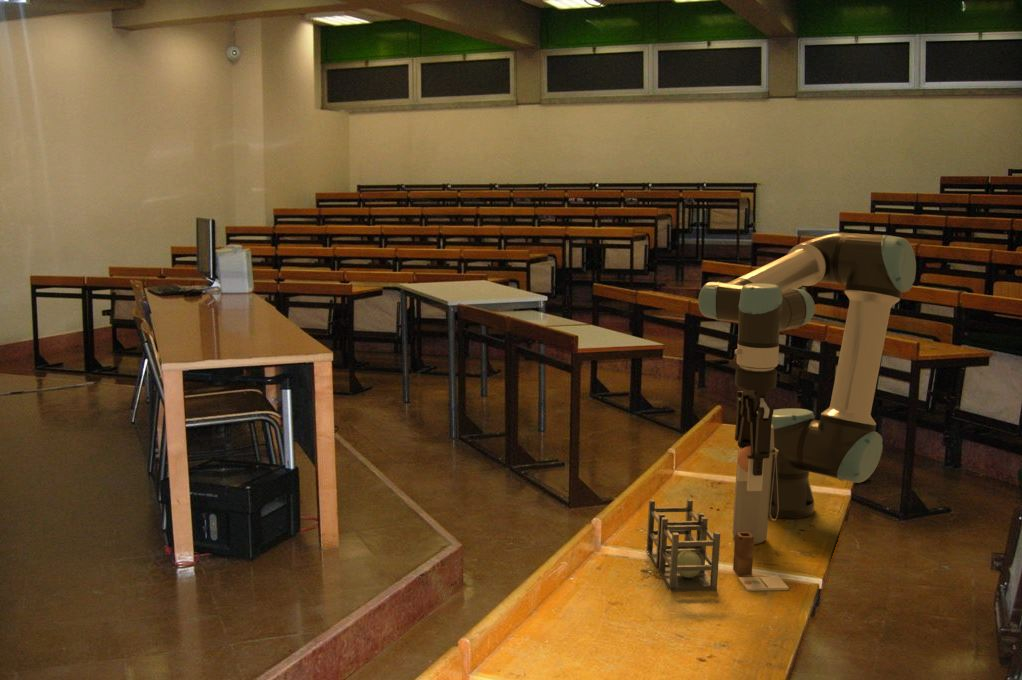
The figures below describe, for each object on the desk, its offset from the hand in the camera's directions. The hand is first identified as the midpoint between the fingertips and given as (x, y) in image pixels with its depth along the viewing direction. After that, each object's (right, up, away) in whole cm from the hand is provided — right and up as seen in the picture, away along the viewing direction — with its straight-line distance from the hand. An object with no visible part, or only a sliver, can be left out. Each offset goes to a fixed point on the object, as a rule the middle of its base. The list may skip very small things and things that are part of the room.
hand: (749, 485), depth 187 cm
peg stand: (-1, -17, +3) cm, 18 cm away
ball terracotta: (0, +5, -1) cm, 5 cm away
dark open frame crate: (-12, -18, -2) cm, 22 cm away
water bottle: (+6, -15, +19) cm, 25 cm away
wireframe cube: (-13, -16, +8) cm, 22 cm away
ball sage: (-12, -15, -2) cm, 19 cm away
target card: (+2, -18, -3) cm, 19 cm away
